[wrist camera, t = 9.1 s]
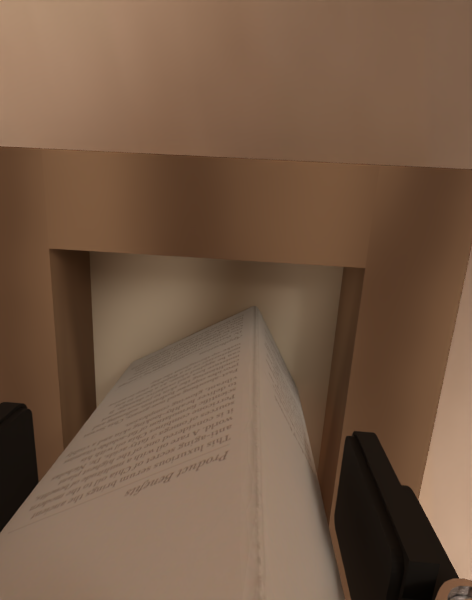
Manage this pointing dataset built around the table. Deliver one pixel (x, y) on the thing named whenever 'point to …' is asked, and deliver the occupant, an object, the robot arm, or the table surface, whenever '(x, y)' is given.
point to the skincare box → (182, 486)
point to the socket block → (234, 285)
